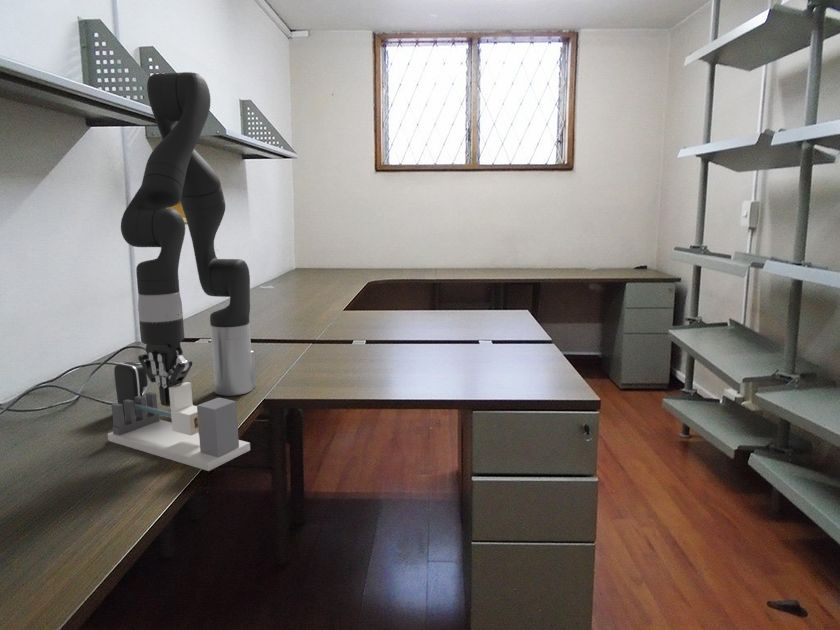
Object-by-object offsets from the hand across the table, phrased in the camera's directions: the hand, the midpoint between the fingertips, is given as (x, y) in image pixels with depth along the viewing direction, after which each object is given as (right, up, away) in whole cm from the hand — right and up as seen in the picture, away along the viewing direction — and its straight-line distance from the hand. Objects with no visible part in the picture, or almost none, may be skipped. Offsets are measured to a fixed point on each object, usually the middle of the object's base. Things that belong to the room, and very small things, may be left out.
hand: (168, 404), depth 109 cm
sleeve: (+5, -4, -2) cm, 7 cm away
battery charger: (-16, -5, +19) cm, 25 cm away
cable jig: (+2, -8, +1) cm, 8 cm away
